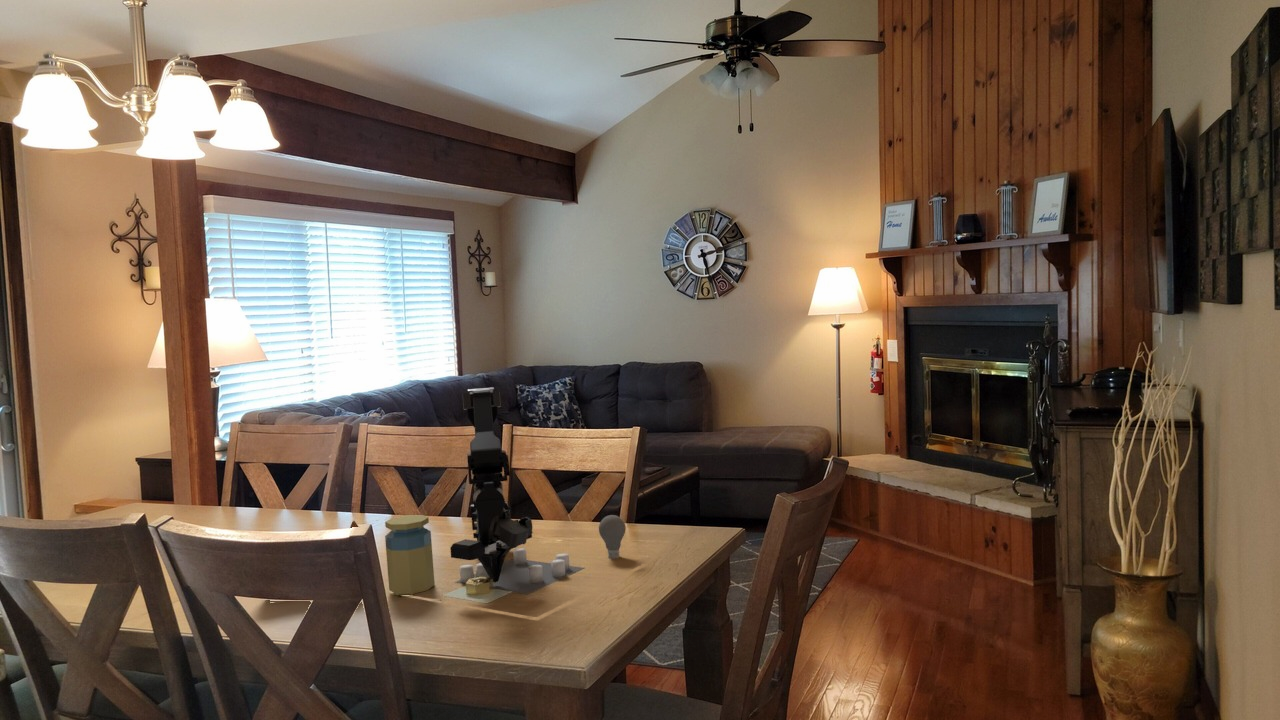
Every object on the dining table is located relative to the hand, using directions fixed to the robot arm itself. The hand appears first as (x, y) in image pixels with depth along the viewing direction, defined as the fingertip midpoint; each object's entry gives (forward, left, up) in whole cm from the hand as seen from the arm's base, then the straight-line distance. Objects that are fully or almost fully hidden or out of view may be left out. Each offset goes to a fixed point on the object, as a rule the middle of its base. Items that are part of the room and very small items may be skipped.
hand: (495, 581), depth 187 cm
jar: (-16, -8, -2) cm, 18 cm away
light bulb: (+11, +27, -2) cm, 29 cm away
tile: (0, -6, -1) cm, 6 cm away
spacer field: (0, +8, -1) cm, 8 cm away
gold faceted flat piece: (0, -4, -1) cm, 4 cm away
